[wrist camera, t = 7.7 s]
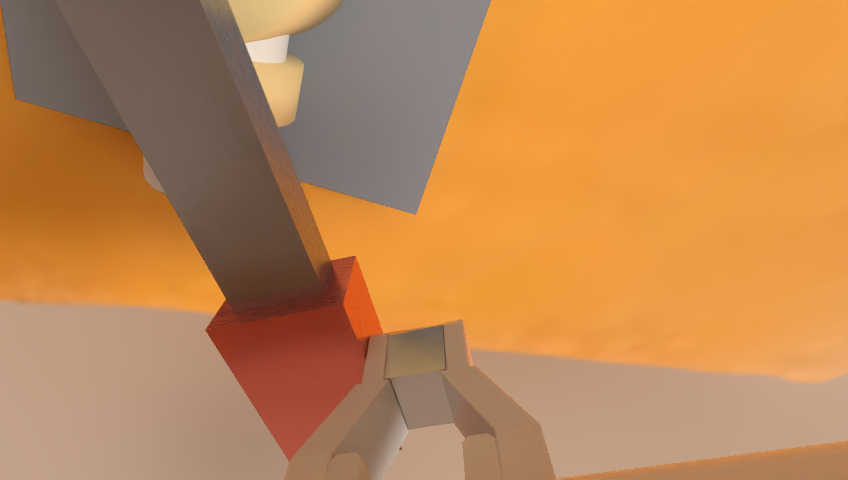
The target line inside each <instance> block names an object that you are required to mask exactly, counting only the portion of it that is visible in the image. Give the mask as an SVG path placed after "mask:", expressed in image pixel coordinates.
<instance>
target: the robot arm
mask: <svg viewBox="0 0 848 480" xmlns="http://www.w3.org/2000/svg"><path fill="white" fill-rule="evenodd" d="M450 423H455V425H456V427H457V428H458V429H459V431H460V432H461V433H462V435H463V436H464V437H465V440H464V441H463V455H464V467H465V480H848V441H843V442H836V443H828V444H820V445H812V446H805V447H797V448H790V449H782V450H774V451H767V452H760V453H759V452H758V453H751V454H743V455H735V456H728V457H720V458H713V459H705V460H697V461H690V462H682V463H674V464H666V465H658V466H651V467H643V468H635V469H628V470H620V471H612V472H605V473H597V474H589V475H582V476H574V477H567V478H559V479H556V477H555V474H554V470H553V467H552V464H551V460H550V457H549V453H548V450H547V446H546V443H545V440H544V436H543V433H542V429H541V426H540V424H539V423H538V422H537V421H536V420H535V419H534V418H533V417H532V416H530V415H529V414H528V413H527V412H526V411H525V410H524V409H523V408H522V407H521V406H519V405H518V404H517V403H516V402H515V401H514V400H513V399H512V398H511V397H509V396H508V395H507V394H506V393H505V392H504V391H503V390H502V389H501V388H499V387H498V386H497V385H496V384H495V383H494V382H493V381H492V380H491V379H489V378H488V377H487V376H486V375H485V374H484V373H483V372H482V371H480V370H479V369H478V368H477V367H476V366H475V365H474V366H473V362H472V357H471V352H470V348H469V343H468V339H467V334H466V330H465V325H464V322H463V320H458V321H452V322H447V323H444V324H439V325H433V326H428V327H422V328H415V329H409V330H402V331H395V332H390V333H384V334H378V335H372V336H371V337H370V339H369V342H368V348H367V354H366V360H365V366H364V372H363V378H362V384H356V385H355V386H354V387H353V389H352V390H351V391H350V392H349V393H348V394H347V395H346V397H345V398H344V399H343V400H342V401H341V402H340V403H339V405H338V406H337V407H336V408H335V409H334V410H333V411H332V413H331V414H330V415H329V416H328V417H327V418H326V419H325V421H324V422H323V423H322V424H321V425H320V426H319V427H318V429H317V430H316V431H315V432H314V433H313V434H312V435H311V436H310V438H309V439H308V440H307V441H306V442H305V443H304V444H303V446H302V447H301V448H300V449H299V450H298V451H297V452H296V454H295V455H294V456H293V457H292V458H291V459H290V462H289V466H288V469H287V472H286V475H285V479H284V480H382V479H383V478H384V476H385V474H386V472H387V470H388V468H389V467H390V465H391V463H392V461H393V459H394V458H395V456H396V454H397V452H398V450H399V449H400V447H401V445H402V443H403V441H404V440H405V438H406V436H407V434H408V432H409V431H408V430H410V429H415V428H422V427H427V426H434V425H442V424H450Z"/></svg>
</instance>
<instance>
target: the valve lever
mask: <svg viewBox="0 0 848 480" xmlns="http://www.w3.org/2000/svg"><path fill="white" fill-rule="evenodd" d="M54 1H55V3H56V4H57V6H58V8H59V10H60V11H61V13H62V15H63V16H64V18H65V20H66V22H67V23H68V25H69V27H70V29H71V30H72V32H73V34H74V36H75V37H76V39H77V41H78V42H79V44H80V46H81V48H82V49H83V51H84V53H85V55H86V56H87V58H88V60H89V62H90V63H91V65H92V67H93V69H94V70H95V72H96V74H97V75H98V77H99V79H100V81H101V82H102V84H103V86H104V88H105V89H106V91H107V93H108V95H109V96H110V98H111V100H112V102H113V103H114V105H115V107H116V108H117V110H118V112H119V114H120V115H121V117H122V119H123V121H124V122H125V124H126V126H127V128H128V129H129V131H130V133H131V134H132V136H133V138H134V140H135V141H136V143H137V145H138V147H139V148H140V150H141V152H142V154H143V155H144V157H145V159H146V161H147V162H148V164H149V166H150V167H151V169H152V171H153V173H154V174H155V176H156V178H157V180H158V181H159V183H160V185H161V187H162V188H163V190H164V192H165V194H166V195H167V197H168V199H169V200H170V202H171V204H172V206H173V207H174V209H175V211H176V213H177V214H178V216H179V218H180V220H181V221H182V223H183V225H184V226H185V228H186V230H187V232H188V233H189V235H190V237H191V239H192V240H193V242H194V244H195V246H196V247H197V249H198V251H199V253H200V254H201V256H202V258H203V259H204V261H205V263H206V265H207V266H208V268H209V270H210V272H211V273H212V275H213V277H214V279H215V280H216V282H217V284H218V286H219V287H220V289H221V291H222V292H223V294H224V296H225V298H226V300H225V302H224V303H223V305H222V306H221V308H220V309H219V311H218V312H217V314H216V315H215V317H214V318H213V319H212V321H211V323H210V324H209V325H208V327H207V328H206V332H207V333H208V335H209V337H210V338H211V340H212V341H213V343H214V344H215V345H216V348H217V349H218V351H219V352H220V354H221V355H222V357H223V359H224V360H225V362H226V363H227V365H228V366H229V368H230V369H231V371H232V373H233V374H234V376H235V377H236V379H237V380H238V382H239V384H240V385H241V387H242V388H243V390H244V391H245V393H246V395H247V396H248V398H249V399H250V401H251V402H252V404H253V406H254V407H255V408H256V410H257V412H258V413H259V415H260V416H261V418H262V420H263V421H264V423H265V424H266V426H267V427H268V429H269V431H270V432H271V434H272V435H273V436H274V438H275V440H276V442H277V443H278V445H279V446H280V448H281V449H282V451H283V453H284V454H285V456H286V457H287V459H288V460H289V462H290V459H291V458H292V457H293V456H294V455H295V454H296V452H297V451H298V450H299V449H300V448H301V447H302V446H303V444H304V443H305V442H306V441H307V440H308V439H309V438H310V436H311V435H312V434H313V433H314V432H315V431H316V430H317V429H318V427H319V426H320V425H321V424H322V423H323V422H324V421H325V419H326V418H327V417H328V416H329V415H330V414H331V413H332V411H333V410H334V409H335V408H336V407H337V406H338V405H339V403H340V402H341V401H342V400H343V399H344V398H345V397H346V395H347V394H348V393H349V392H350V391H351V390H352V389H353V387H354V386H355V385H356V384H362V378H363V372H364V366H365V360H366V354H367V348H368V342H369V339H370V337H371V336H372V335H378V334H383V331H382V329H381V326H380V323H379V320H378V317H377V315H376V312H375V309H374V306H373V303H372V301H371V298H370V295H369V292H368V289H367V286H366V284H365V281H364V278H363V275H362V272H361V270H360V267H359V264H358V261H357V258H356V256H352V257H347V258H342V259H337V260H332V261H331V260H330V258H329V255H328V253H327V250H326V248H325V245H324V243H323V240H322V237H321V235H320V232H319V230H318V227H317V225H316V222H315V220H314V217H313V215H312V212H311V210H310V207H309V205H308V202H307V199H306V197H305V194H304V192H303V189H302V187H301V184H300V182H299V179H298V177H297V174H296V172H295V169H294V166H293V164H292V161H291V159H290V156H289V154H288V151H287V149H286V146H285V144H284V141H283V139H282V136H281V134H280V131H279V128H278V126H277V123H276V121H275V118H274V116H273V113H272V111H271V108H270V106H269V103H268V101H267V98H266V95H265V93H264V90H263V88H262V85H261V83H260V80H259V78H258V75H257V73H256V70H255V68H254V65H253V63H252V60H251V57H250V55H249V52H248V50H247V47H246V45H245V42H244V40H243V37H242V35H241V32H240V30H239V27H238V25H237V22H236V19H235V17H234V14H233V12H232V9H231V7H230V4H229V2H228V0H54ZM401 449H402V445H401V447H400V449H399V450H401Z"/></svg>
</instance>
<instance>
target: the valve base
mask: <svg viewBox="0 0 848 480" xmlns="http://www.w3.org/2000/svg"><path fill="white" fill-rule="evenodd" d="M228 2H229V4H230V7H231V9H232V12H233V14H234V17H235V19H236V22H237V25H238V27H239V30H240V32H241V35H242V37H243V40H244V42H245V45H246V47H247V50H248V52H249V55H250V57H251V60H252V63H253V65H254V68H255V70H256V73H257V75H258V78H259V80H260V83H261V85H262V88H263V90H264V93H265V95H266V98H267V101H268V103H269V106H270V108H271V111H272V113H273V116H274V118H275V121H276V123H277V126H278V128H279V131H280V134H281V136H282V139H283V141H284V144H285V146H286V149H287V151H288V154H289V156H290V159H291V161H292V164H293V166H294V169H295V172H296V174H297V177H298V179H299V181H301V182H305V183H308V184H312V185H315V186H318V187H322V188H325V189H329V190H332V191H336V192H339V193H343V194H346V195H350V196H353V197H357V198H360V199H363V200H367V201H370V202H374V203H377V204H381V205H384V206H388V207H391V208H395V209H398V210H402V211H405V212H408V213H412V214H415V215H416V213H417V210H418V207H419V204H420V201H421V199H422V196H423V193H424V190H425V187H426V184H427V181H428V179H429V176H430V173H431V170H432V167H433V164H434V161H435V159H436V156H437V153H438V150H439V147H440V144H441V141H442V139H443V136H444V133H445V130H446V127H447V124H448V121H449V119H450V116H451V113H452V110H453V107H454V104H455V101H456V99H457V96H458V93H459V90H460V87H461V84H462V81H463V79H464V76H465V73H466V70H467V67H468V64H469V62H470V59H471V56H472V53H473V50H474V47H475V44H476V42H477V39H478V36H479V33H480V30H481V27H482V24H483V22H484V19H485V16H486V13H487V10H488V7H489V4H490V2H491V0H228ZM0 3H1V10H2V16H3V23H4V29H5V35H6V42H7V48H8V54H9V61H10V67H11V74H12V80H13V86H14V93H15V99H17V100H21V101H24V102H28V103H31V104H35V105H38V106H42V107H45V108H49V109H52V110H56V111H59V112H62V113H66V114H69V115H73V116H76V117H80V118H83V119H87V120H90V121H94V122H97V123H101V124H104V125H107V126H111V127H114V128H118V129H121V130H125V131H128V132H130V131H129V129H128V128H127V126H126V124H125V122H124V121H123V119H122V117H121V115H120V114H119V112H118V110H117V108H116V107H115V105H114V103H113V102H112V100H111V98H110V96H109V95H108V93H107V91H106V89H105V88H104V86H103V84H102V82H101V81H100V79H99V77H98V75H97V74H96V72H95V70H94V69H93V67H92V65H91V63H90V62H89V60H88V58H87V56H86V55H85V53H84V51H83V49H82V48H81V46H80V44H79V42H78V41H77V39H76V37H75V36H74V34H73V32H72V30H71V29H70V27H69V25H68V23H67V22H66V20H65V18H64V16H63V15H62V13H61V11H60V10H59V8H58V6H57V4H56V3H55V1H54V0H0ZM143 174H144V178H145V180H146V181H147V182H148V184H149V185H151V186H152V187H153V188H154V189H156V190H158V191H159V192H162V193H164V194H165V192H164V190H163V188H162V187H161V185H160V183H159V181H158V180H157V178H156V176H155V174H154V173H153V171H152V169H151V167H150V166H149V164H148V162H147V161H146V159H145V157H144V155H143Z"/></svg>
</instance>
